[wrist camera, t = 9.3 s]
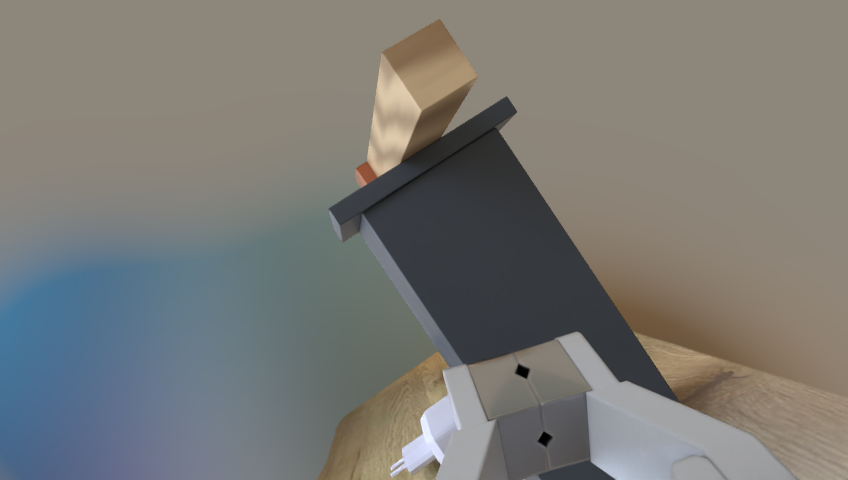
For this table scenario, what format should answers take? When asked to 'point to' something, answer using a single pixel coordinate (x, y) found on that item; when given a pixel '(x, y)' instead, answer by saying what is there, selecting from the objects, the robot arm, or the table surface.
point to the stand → (488, 259)
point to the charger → (429, 439)
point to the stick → (415, 97)
